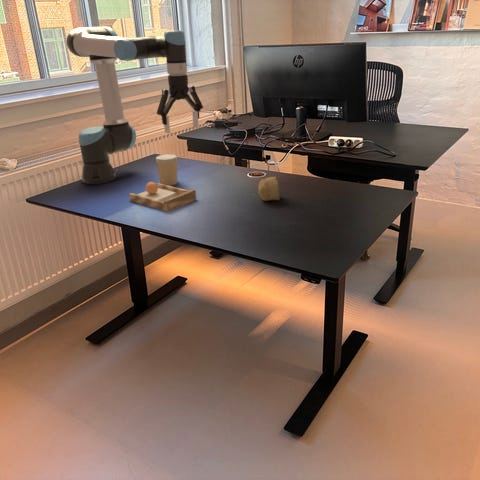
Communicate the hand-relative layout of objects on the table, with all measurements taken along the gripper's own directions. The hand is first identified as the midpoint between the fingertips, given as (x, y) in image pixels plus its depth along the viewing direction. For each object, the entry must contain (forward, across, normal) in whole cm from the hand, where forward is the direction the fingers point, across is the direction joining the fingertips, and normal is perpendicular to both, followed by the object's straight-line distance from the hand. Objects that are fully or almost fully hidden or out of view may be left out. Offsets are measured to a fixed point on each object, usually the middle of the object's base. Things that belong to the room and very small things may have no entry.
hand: (182, 129), depth 190 cm
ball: (+22, -15, +3) cm, 27 cm away
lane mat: (+26, -14, -3) cm, 29 cm away
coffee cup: (+26, 0, +14) cm, 30 cm away
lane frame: (+26, -14, -3) cm, 29 cm away
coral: (+26, +18, -33) cm, 45 cm away
